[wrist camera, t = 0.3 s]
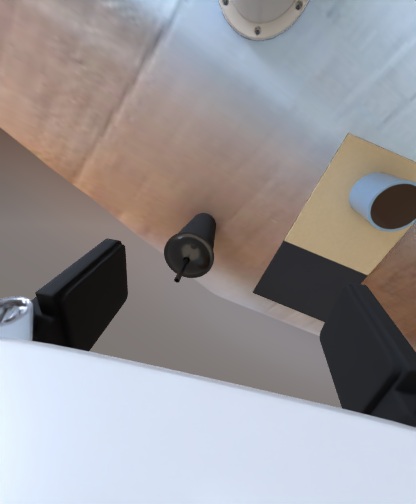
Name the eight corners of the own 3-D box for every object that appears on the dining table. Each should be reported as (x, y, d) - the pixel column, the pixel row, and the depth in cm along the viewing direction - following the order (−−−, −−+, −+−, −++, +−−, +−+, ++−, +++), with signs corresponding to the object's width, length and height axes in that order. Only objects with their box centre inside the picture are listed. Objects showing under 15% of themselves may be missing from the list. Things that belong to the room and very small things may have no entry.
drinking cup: (230, 230, 48) (218, 290, 30) (200, 248, 50) (172, 311, 33) (208, 198, 45) (181, 242, 28) (178, 218, 48) (136, 270, 31)
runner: (348, 133, 37) (348, 133, 37) (451, 178, 38) (452, 178, 37) (252, 292, 53) (252, 292, 53) (326, 322, 54) (326, 322, 54)
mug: (339, 205, 42) (356, 220, 35) (367, 164, 38) (391, 171, 32) (393, 228, 42) (420, 247, 36) (426, 189, 39) (462, 202, 32)
